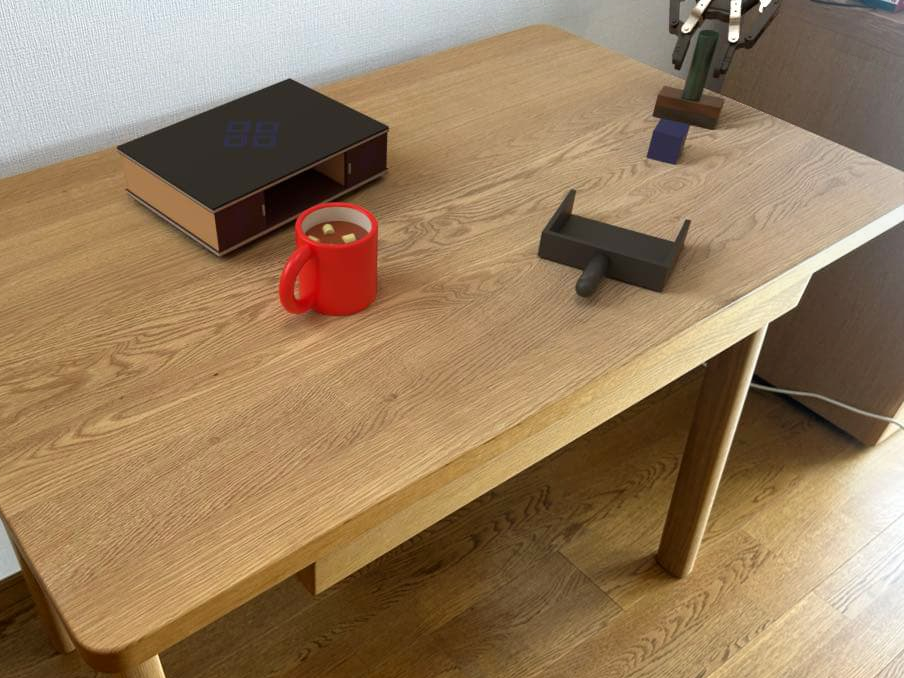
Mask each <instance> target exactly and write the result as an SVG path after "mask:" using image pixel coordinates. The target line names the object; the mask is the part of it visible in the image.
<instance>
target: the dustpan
mask: <svg viewBox="0 0 904 678" xmlns="http://www.w3.org/2000/svg"><path fill="white" fill-rule="evenodd" d="M576 195H577V190H576V189H573V188H571V189H570V190H569V191H568V193H567V194H566V196H565V197H564V199H563V200H562V202H561V203H560V205H559V206H558V207H557V209H556V210H555V212H554V213H553V215H552V216H551V218H550V219H549V221H548V222H547V223H546V225H545V226H544V228H543V229H542V230H541V233H540V238H539V245H538V249H537V250H538V251H537V256H538V257H540V258H545V259H547V260H551V261H555V262H558V263H561V264H565V265H568V266H572V267H574V268H579V269H581V270H583V271H582V273H581V274H580V276H579V277H578V279H577V281H576V283H575V286H574V290H575V293H576V295H577V296H579V297H580V298H583V299H587V298H591V297H592V296H593V295H594V294H595V292H596V291H597V289H598V288H599V285H600V284H601V282H602V280H603V278H604V277H605V276H606V277H609V278H613V279H616V280H619V281H623V282H627V283H630V284H633V285H637V286H640V287H643V288H647V289H650V290H653V291H657V292H660V293H661V292H662V291H663V290H664V287H665V286H666V283H667V282H668V279H669V277H670V275H671V273H672V270H673V269H674V267H675V265H676V262H677V260H678V258H679V256H680V254H681V252H682V251H683V248H684V245H685V242H686V239H687V236H688V233H689V230H690V227H691V224H692V220H691V219H687V218H685V220H684V222H683V224H682V226H681V228H680V230H679V232H678V234H677V236H676V238H675V240H674V241H673V240H669V239H664V238H661V237H658V236H654V235H651V234H647V233H643V232H639V231H636V230H632V229H628V228H626V227H621V226H618V225H613V224H610V223H606V222H602V221H599V220H596V219H591V218H589V217H584V216H582V215H581V216H580V215H578V214H573V208H574V204H575V200H576Z"/></svg>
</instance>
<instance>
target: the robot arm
mask: <svg viewBox="0 0 904 678" xmlns="http://www.w3.org/2000/svg"><path fill="white" fill-rule="evenodd" d="M685 1H686V0H669V11H668V32H669V34H670V35H675V36H676V37H677V41H676V44H675V46H674V49H673V51H672V54H671V64H672V65H673V67H674V70H675V71H681V69H682V67H683V64H684V61H685V59H686V56H687V53H688V52H689V49H690V46H691V40H692V38H693V36H695V34H696V33H697V31H698V29H700V28H701V27H702V25H703V24H704V23H705V22H706V20H708V21H709V20H711V21H712V20H714V21H715V20H718V21H720V22H722V23H724V24H725V23H726V24H727V40H726V41H724V42H723V45H722V48H721V50H720V53H719V55H718V58H717V61H716V64H715V67H714V69H713V73H712V78H714V79H720V76H721V75H723V76H725V75H726V73H727V72H728V71H729V68H730V65H731V62H732V60H733V57H734V55H735V52H736V51H737V50H739V49H745V50H751V49H753V48H754V46H755V45H756V43H757V42H758V41H759V40H760V39H761V37H762V36H763V34H764V33H765V32H766V30H767V29H768V28H769V26H770V25H771V24H772V23H773V21H774V20H775V18H776V17H777V16H778V15H779V13H780V11H781V7H782V3H783V0H695V3H696V5H695V6H694V7H693V9H692V11H691V13H690V14H689V16H688V17H687V19H686V20H685V22H684V21H682V20H681V19H680V13H681V12H680V10H681V3H683V2H685ZM757 5H759V8H758V17H757V18H756V19H755V21H754V22H753V23H752V25H750V27H749V28H748V30H746V31H747V32H743V33H740V30H741V29H740V28H741V27H740V26H741V17H742V16H744V15H745V14H746V13H748V12H749V11H750V10H752V9H753V8H754V7H756V6H757Z"/></svg>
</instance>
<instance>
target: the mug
mask: <svg viewBox="0 0 904 678" xmlns="http://www.w3.org/2000/svg"><path fill="white" fill-rule="evenodd" d="M294 229H295V230H294V231H295V234H294V235H295V251H294V252H293V253H292V254H291V255H290V257H289V258H288V259H287V261H286V262H285V264H284V267H283V268H282V272H281V274H280V277H279V281H278V299H279V302H280V305H281V306H282V308H283V309H284V310H285V311H286V312H287V313H289V314H292V315H302V314H304V313H306V312H308V311H310V310H311V311H314V312H316V313H319V314H321V315H326V316H349V315H352V314H357V313H359V312H361V311H363V310H365V309H367V308H368V307H370V306H371V304H372V303H374V301H375V299H376V297H377V292H378V253H379V251H378V250H379V248H378V247H379V222H378V220H377V218H376V216H375V215H374V214H373V213H372V212H371V211H369V210H368V209H366V208H365V207H362V206H360V205H357V204H354V203H348V202H340V201H339V202H337V201H336V202H329V203H324V204H320V205H316V206H314V207H311V208H309V209H308V210H306V211H304V212H303V213H302V214H301V215H300V216H299V217H298V218H297V219H296V221H295V224H294ZM296 282H297V284H298V285H297V286H298V296H299V298H296V296H295V286H296Z"/></svg>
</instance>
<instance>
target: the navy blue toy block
mask: <svg viewBox="0 0 904 678" xmlns="http://www.w3.org/2000/svg"><path fill="white" fill-rule="evenodd" d="M690 126H691V125H690V124H685V123H681V122H677V121H672V120H668V119H663V118H660V119H659V120H658V122H657V124H656V125H655V127H654V129H653V130H652V134H651V137H650V142H649V145H648V148H647V149H648V150H647V152H646V158H647V159H651V160H655V161H659V162H663V163H667V164H671V165H676V164H677V162H678V160H679V159H680V157H681V155H682V153H683V151H684V147H685V144H686V141H687V137H688V134H689V131H690Z"/></svg>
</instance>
